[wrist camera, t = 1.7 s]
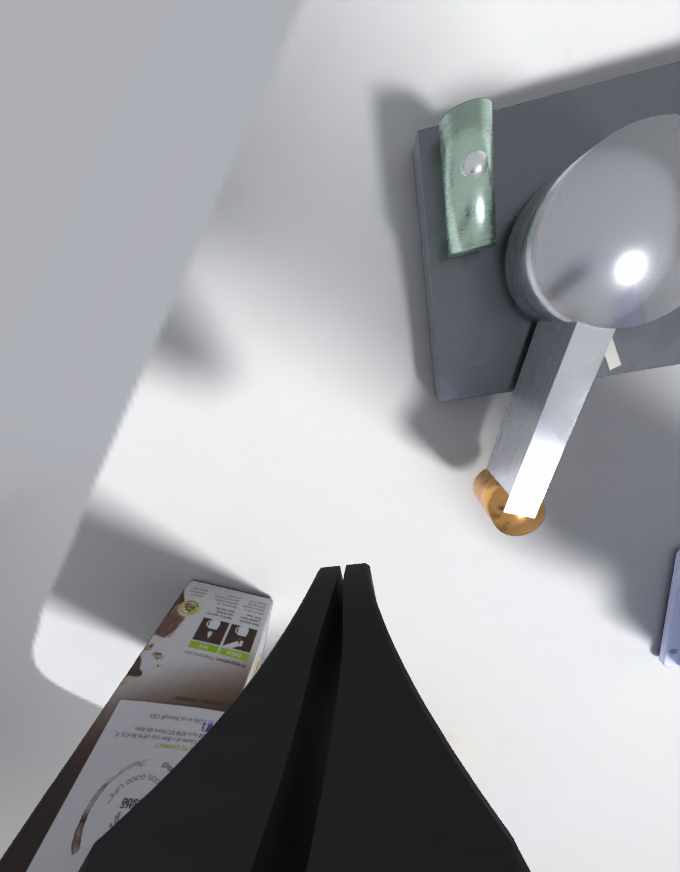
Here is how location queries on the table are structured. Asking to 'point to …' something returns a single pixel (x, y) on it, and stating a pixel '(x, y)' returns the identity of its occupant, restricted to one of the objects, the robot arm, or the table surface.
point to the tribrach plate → (496, 215)
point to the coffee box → (147, 724)
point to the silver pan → (582, 298)
